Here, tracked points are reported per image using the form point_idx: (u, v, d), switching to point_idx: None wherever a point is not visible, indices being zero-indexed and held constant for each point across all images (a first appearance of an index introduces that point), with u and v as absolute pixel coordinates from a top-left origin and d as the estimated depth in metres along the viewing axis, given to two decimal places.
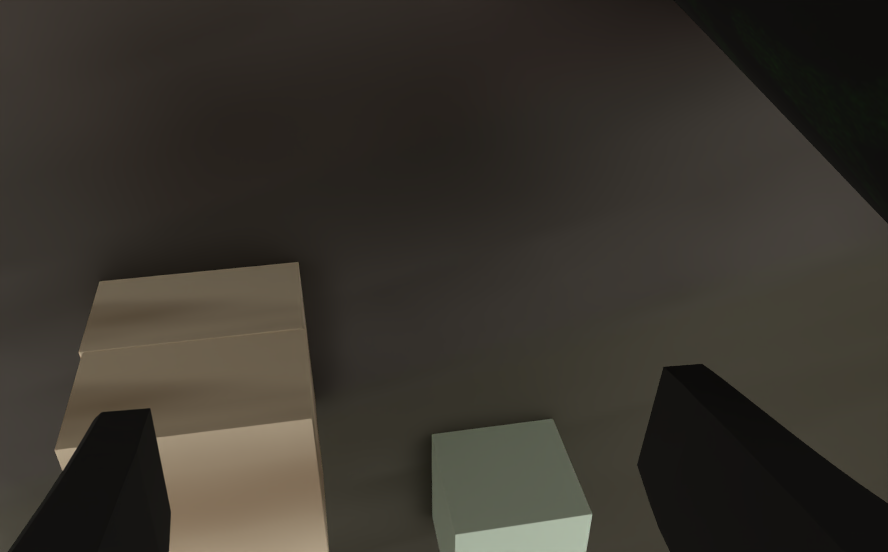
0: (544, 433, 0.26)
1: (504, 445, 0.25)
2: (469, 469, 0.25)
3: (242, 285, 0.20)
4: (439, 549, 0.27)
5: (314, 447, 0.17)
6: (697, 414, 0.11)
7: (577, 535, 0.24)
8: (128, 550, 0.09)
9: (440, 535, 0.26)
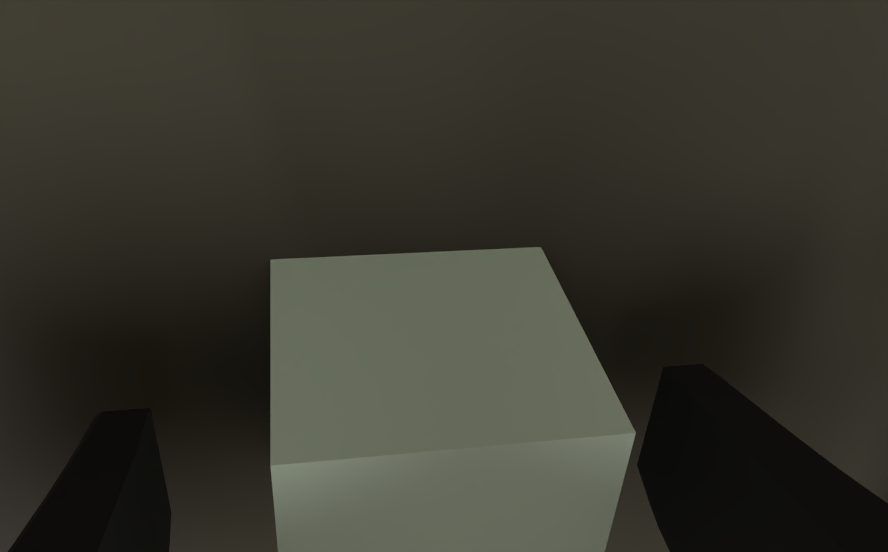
0: None
1: None
2: None
3: None
4: None
5: None
6: (697, 414, 0.11)
7: (357, 481, 0.09)
8: (128, 550, 0.09)
9: None
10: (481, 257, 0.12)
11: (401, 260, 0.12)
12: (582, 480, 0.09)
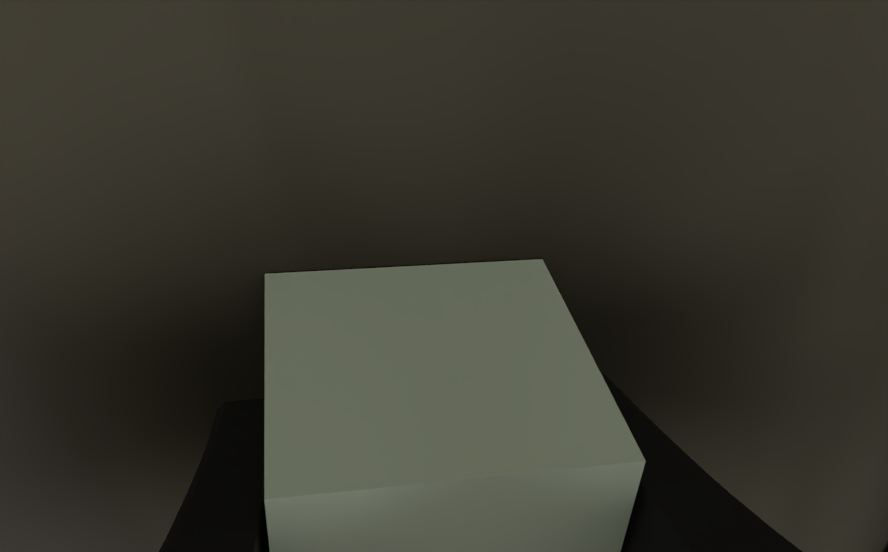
0: None
1: None
2: None
3: None
4: None
5: None
6: None
7: (355, 515, 0.08)
8: None
9: None
10: (482, 273, 0.12)
11: (399, 278, 0.11)
12: (589, 509, 0.09)
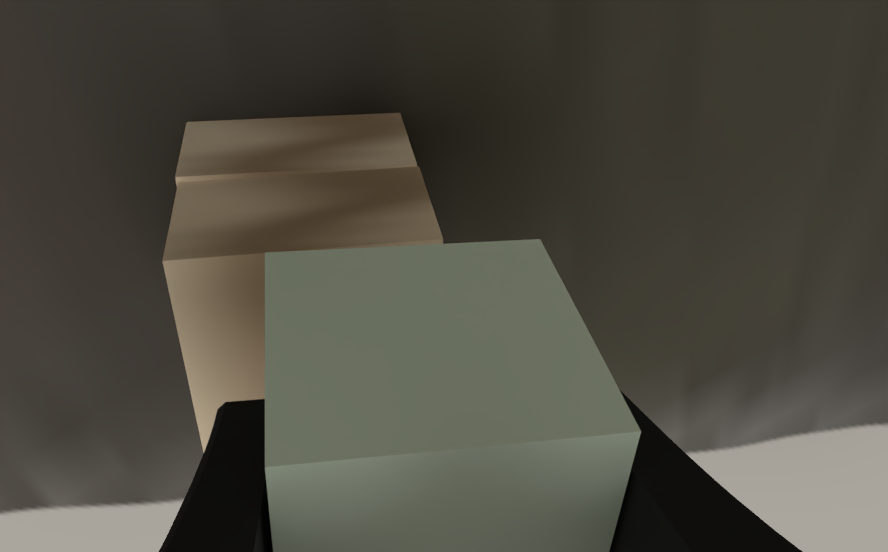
0: None
1: None
2: None
3: None
4: None
5: (213, 256, 0.14)
6: None
7: (354, 482, 0.08)
8: (267, 534, 0.09)
9: None
10: (480, 252, 0.12)
11: (398, 256, 0.11)
12: (586, 480, 0.09)
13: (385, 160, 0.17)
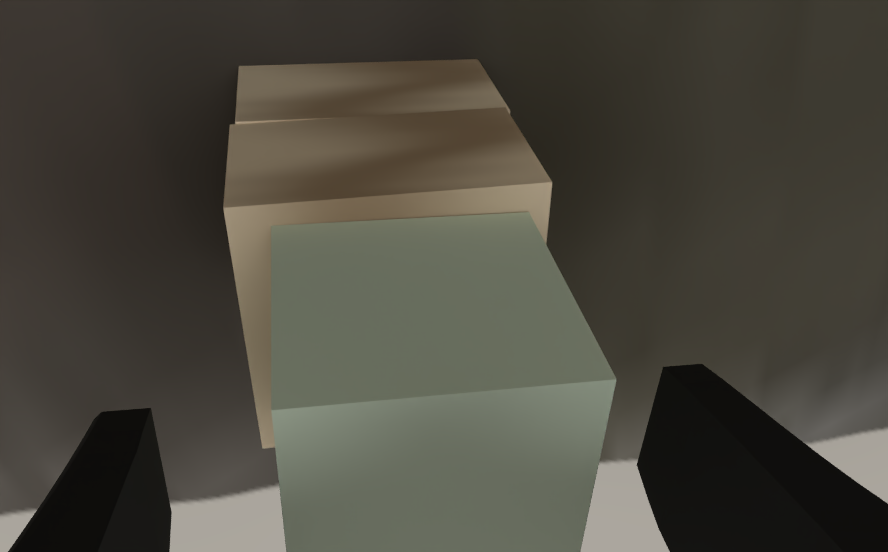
0: None
1: None
2: None
3: None
4: None
5: (283, 203, 0.12)
6: (697, 414, 0.11)
7: (353, 427, 0.09)
8: (128, 550, 0.09)
9: None
10: (472, 224, 0.12)
11: (396, 228, 0.12)
12: (567, 426, 0.10)
13: (473, 106, 0.15)
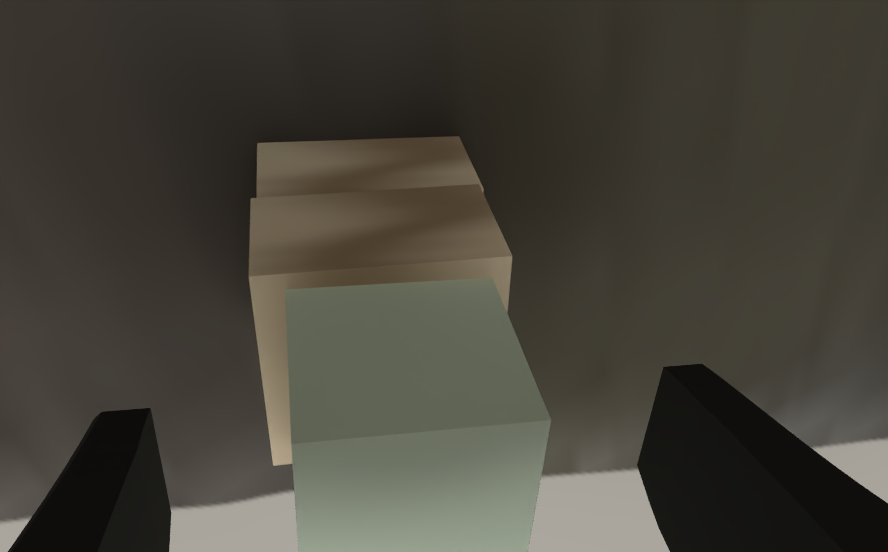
0: None
1: None
2: None
3: None
4: None
5: (296, 272, 0.15)
6: (697, 414, 0.11)
7: (352, 456, 0.12)
8: (128, 550, 0.09)
9: None
10: (446, 288, 0.16)
11: (384, 292, 0.15)
12: (514, 455, 0.13)
13: (453, 185, 0.18)
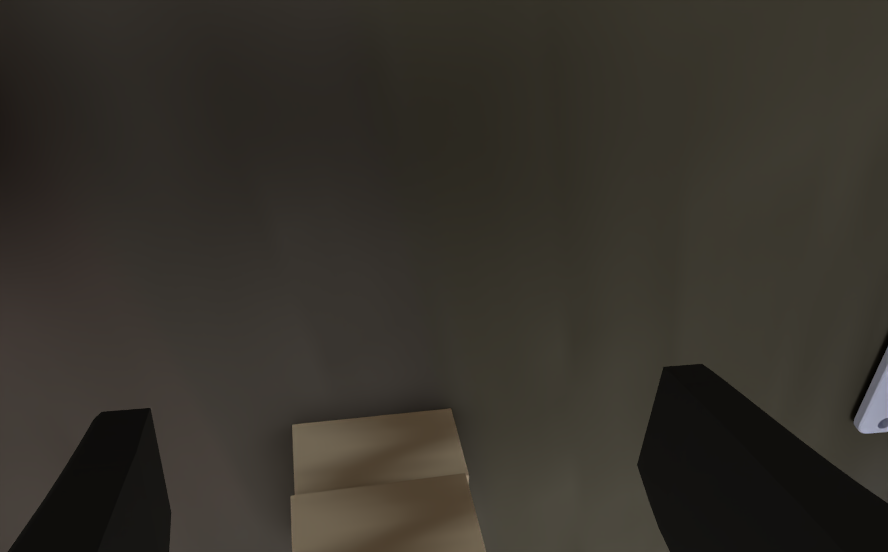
0: None
1: None
2: None
3: None
4: None
5: None
6: (697, 414, 0.11)
7: None
8: (128, 550, 0.09)
9: None
10: None
11: None
12: None
13: (445, 472, 0.24)
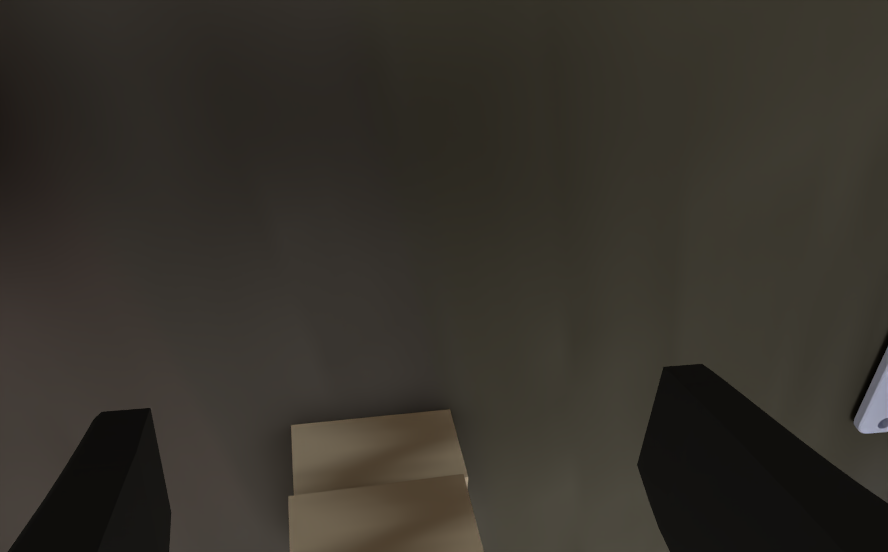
0: None
1: None
2: None
3: None
4: None
5: None
6: (697, 414, 0.11)
7: None
8: (128, 550, 0.09)
9: None
10: None
11: None
12: None
13: (444, 473, 0.24)
